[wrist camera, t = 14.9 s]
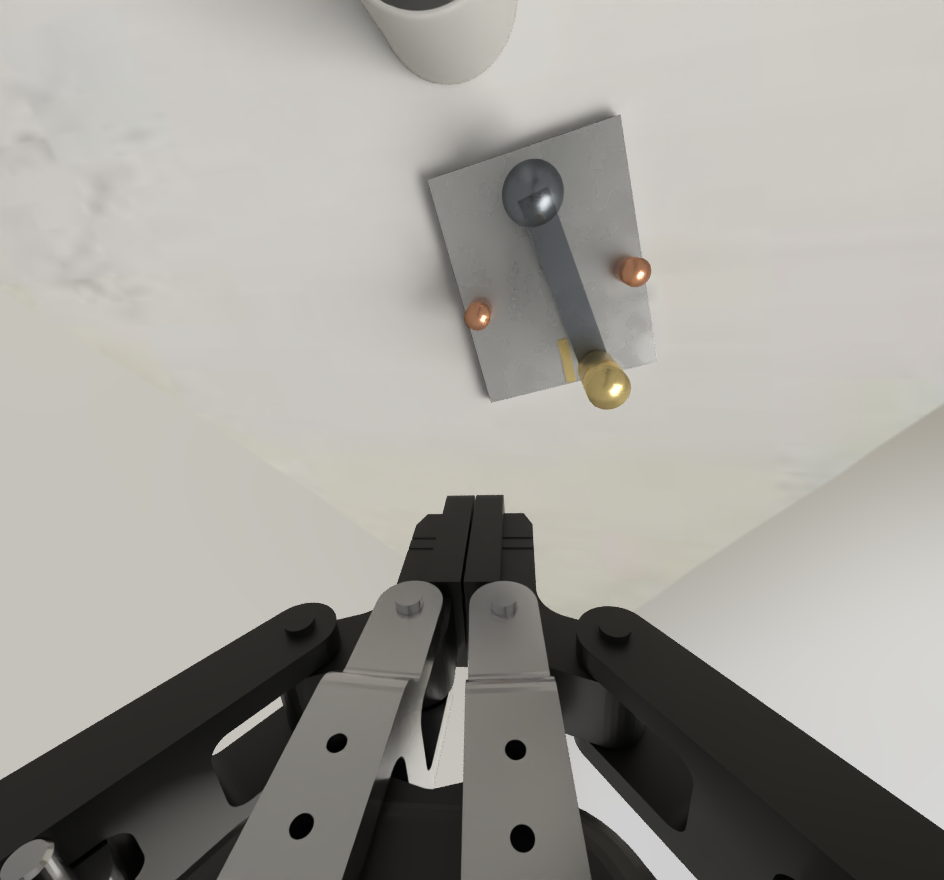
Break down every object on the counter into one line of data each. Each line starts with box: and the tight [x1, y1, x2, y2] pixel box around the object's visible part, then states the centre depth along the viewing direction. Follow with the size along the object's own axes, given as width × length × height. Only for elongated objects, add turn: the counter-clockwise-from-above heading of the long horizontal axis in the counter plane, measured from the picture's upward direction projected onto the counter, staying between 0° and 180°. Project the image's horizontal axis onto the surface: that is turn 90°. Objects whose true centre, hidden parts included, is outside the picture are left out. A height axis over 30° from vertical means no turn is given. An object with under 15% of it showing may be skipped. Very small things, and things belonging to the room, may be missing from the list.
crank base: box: [428, 115, 657, 403], centre depth 34 cm, size 16×13×4 cm
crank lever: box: [502, 159, 631, 409], centre depth 31 cm, size 15×4×7 cm, turn 24°
